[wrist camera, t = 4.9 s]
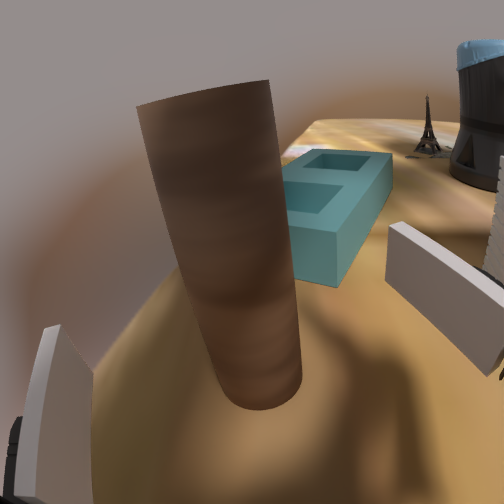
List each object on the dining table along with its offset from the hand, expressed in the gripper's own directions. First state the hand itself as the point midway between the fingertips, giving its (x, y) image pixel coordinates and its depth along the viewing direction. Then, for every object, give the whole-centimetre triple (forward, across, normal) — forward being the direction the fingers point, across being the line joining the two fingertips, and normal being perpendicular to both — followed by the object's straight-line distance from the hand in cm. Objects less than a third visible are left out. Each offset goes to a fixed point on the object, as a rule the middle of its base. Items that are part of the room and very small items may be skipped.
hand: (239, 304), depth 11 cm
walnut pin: (+3, +1, -9) cm, 9 cm away
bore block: (+21, +14, -9) cm, 27 cm away
